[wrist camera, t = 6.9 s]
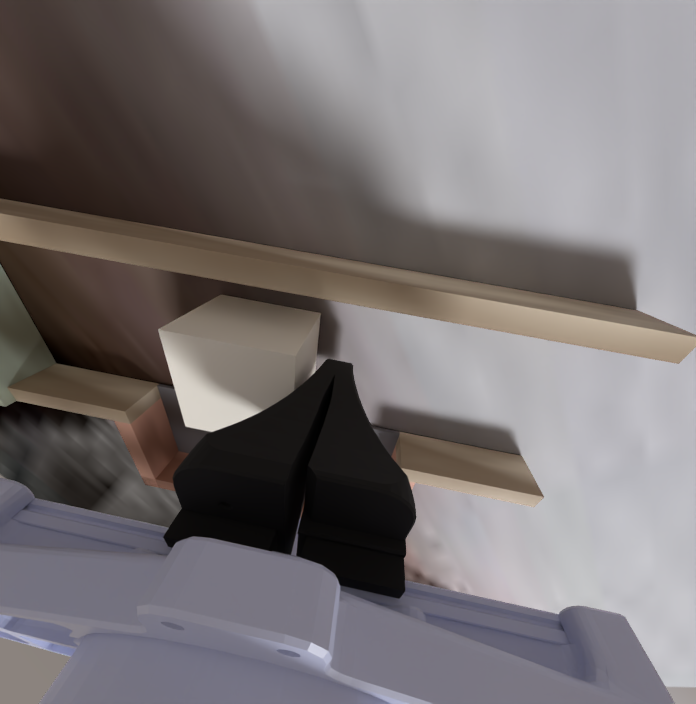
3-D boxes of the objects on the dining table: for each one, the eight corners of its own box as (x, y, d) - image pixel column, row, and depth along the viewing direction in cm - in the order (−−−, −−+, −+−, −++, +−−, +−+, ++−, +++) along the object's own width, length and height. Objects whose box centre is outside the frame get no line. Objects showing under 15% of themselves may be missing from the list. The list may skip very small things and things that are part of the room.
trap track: (472, 517, 19) (486, 566, 17) (88, 437, 20) (44, 471, 18) (637, 310, 10) (721, 346, 8) (-62, 187, 11) (-191, 183, 9)
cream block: (313, 391, 15) (291, 448, 11) (231, 375, 15) (185, 426, 12) (320, 313, 12) (295, 356, 9) (221, 294, 12) (158, 329, 9)
